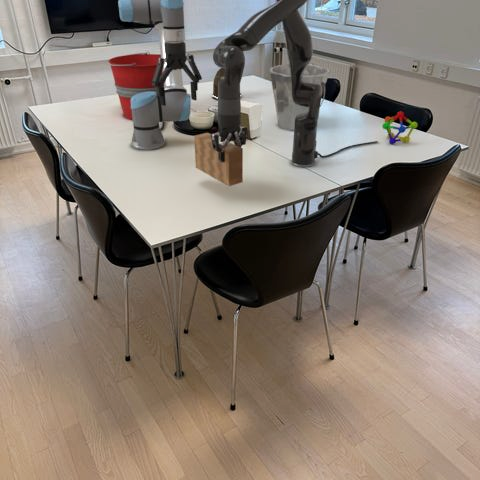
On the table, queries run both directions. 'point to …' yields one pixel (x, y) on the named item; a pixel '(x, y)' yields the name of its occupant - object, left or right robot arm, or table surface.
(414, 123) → the educational toy
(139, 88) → the bucket
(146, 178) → the table surface
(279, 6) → the right robot arm
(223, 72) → the bell
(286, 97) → the bucket
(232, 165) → the box
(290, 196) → the table surface
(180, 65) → the left robot arm
